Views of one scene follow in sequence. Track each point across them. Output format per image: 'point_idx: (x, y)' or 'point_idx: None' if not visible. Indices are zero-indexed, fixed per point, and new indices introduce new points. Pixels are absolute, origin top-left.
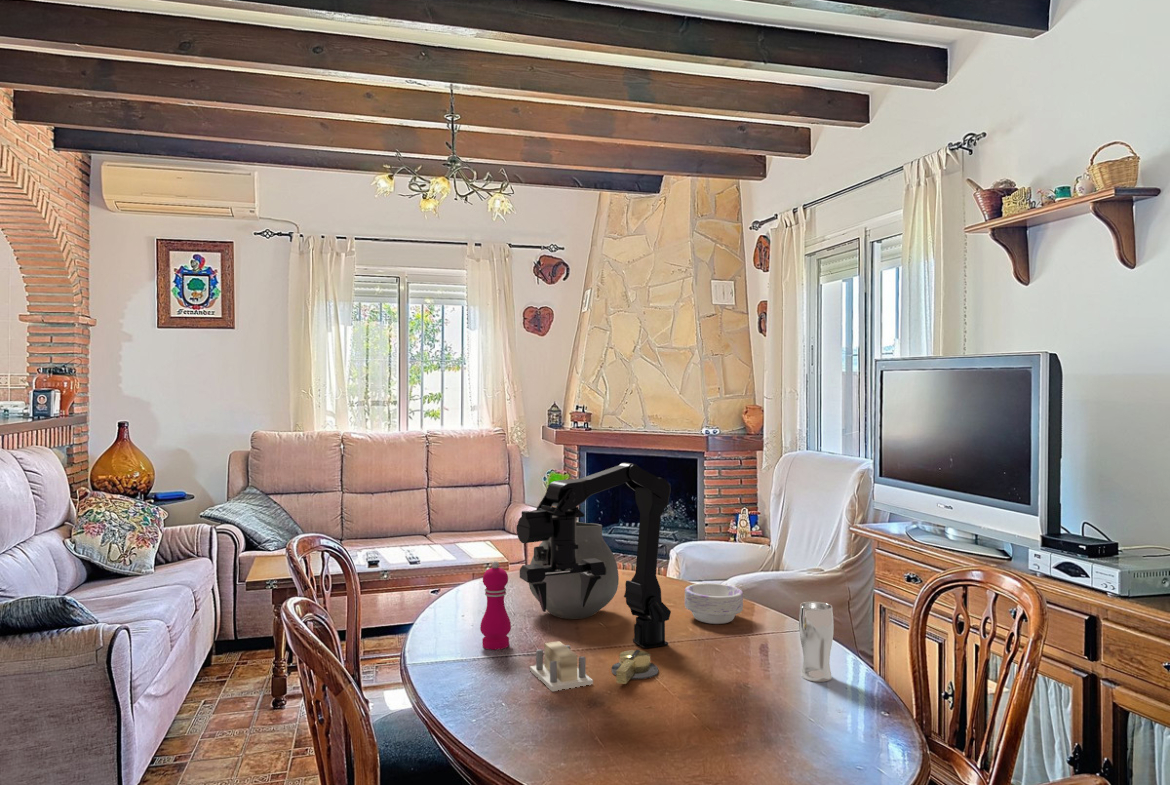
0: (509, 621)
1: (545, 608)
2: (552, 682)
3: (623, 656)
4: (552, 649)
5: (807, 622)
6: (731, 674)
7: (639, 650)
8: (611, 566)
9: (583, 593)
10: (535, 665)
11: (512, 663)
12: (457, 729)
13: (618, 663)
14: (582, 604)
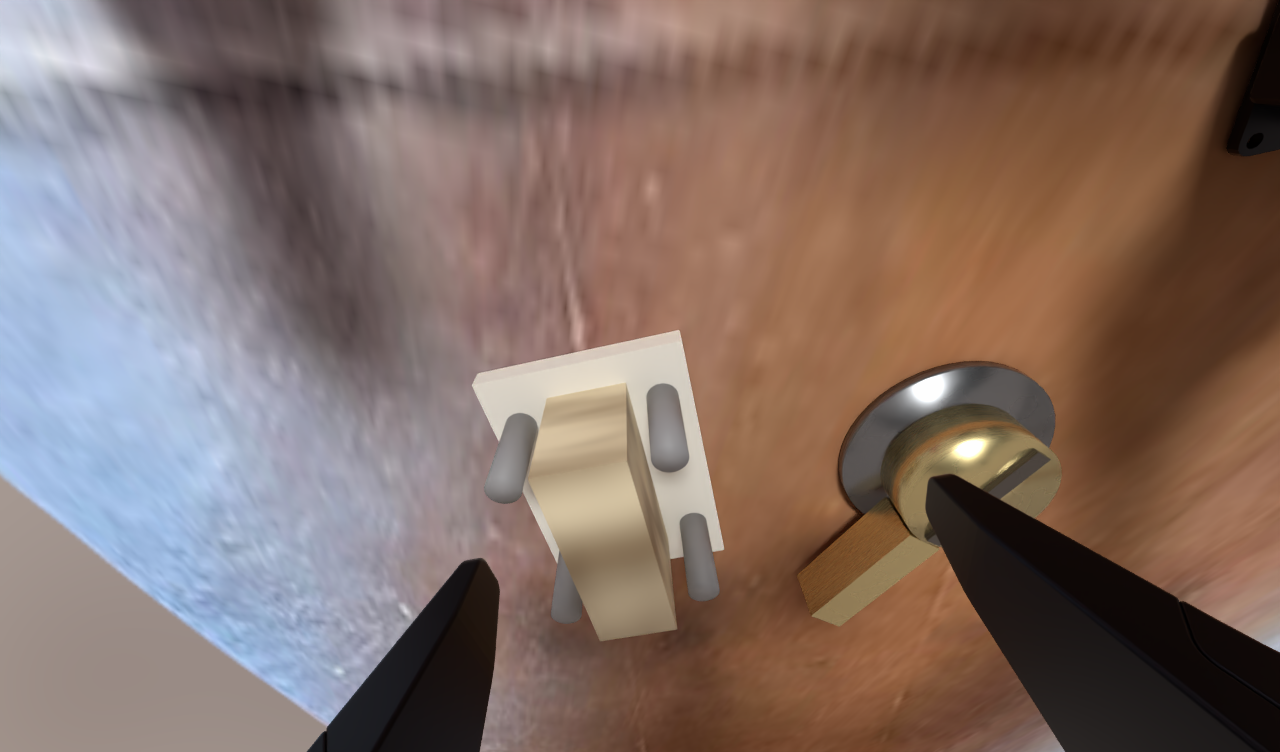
0: None
1: (490, 630)
2: None
3: (921, 504)
4: (568, 563)
5: None
6: (1239, 523)
7: (1039, 468)
8: None
9: (1048, 665)
10: (501, 379)
11: (368, 246)
12: (309, 699)
13: (912, 393)
14: (941, 530)
